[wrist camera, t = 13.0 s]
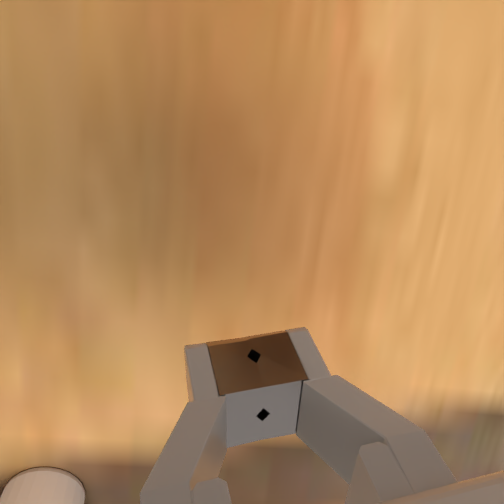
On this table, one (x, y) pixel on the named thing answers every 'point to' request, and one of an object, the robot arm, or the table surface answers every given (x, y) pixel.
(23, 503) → the mug
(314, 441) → the robot arm
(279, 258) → the table surface
